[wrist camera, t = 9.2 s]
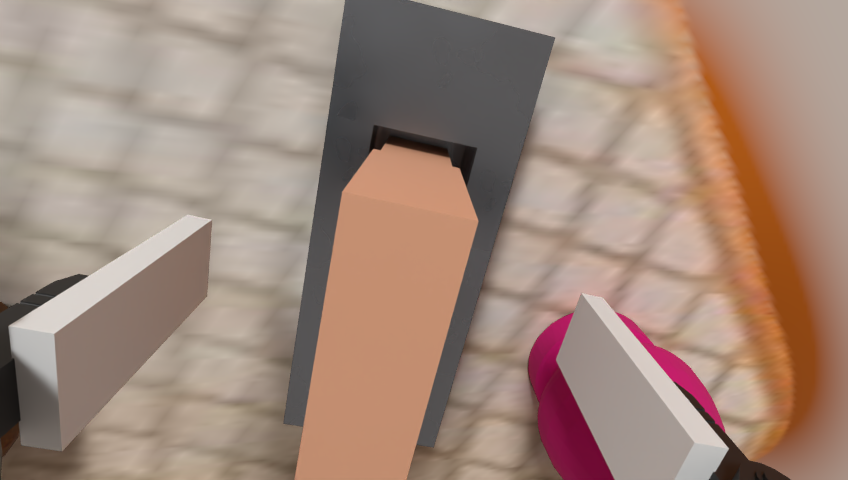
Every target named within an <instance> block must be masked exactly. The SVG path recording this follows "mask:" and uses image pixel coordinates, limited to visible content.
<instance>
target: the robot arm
mask: <svg viewBox="0 0 848 480" xmlns="http://www.w3.org/2000/svg"><path fill="white" fill-rule="evenodd" d="M211 228H212V220H211V219H206V218H201V217H196V216H191V215H186V216H184V217H183V218H181V219H180V220H178V221H176V222H175V223H173V224H172V225H170V226H168V227H167V228H165V229H164V230H162V231H160V232H159V233H157V234H155V235H154V236H152V237H151V238H149V239H147V240H146V241H144V242H143V243H141V244H139V245H138V246H136V247H135V248H133V249H131V250H130V251H128V252H127V253H125V254H123V255H122V256H120V257H119V258H117V259H115V260H114V261H112V262H110V263H109V264H107V265H106V266H104V267H102V268H101V269H99V270H98V271H96V272H94V273H93V274H91V275H90V276H87V275H81V274H77V275H74V276H71V277H68V278H64V279H61V280H58V281H54V282H53V283H51V284H49V285H48V286H46V287H44V288H42V289H41V290H39V291H37V292H36V294H35V295H34V294H32V295H30V296H28V297H27V298H25V299H23V300H22V301H21V302H20V304H19V303H16V304H15V305H13V306H11V307H9V308H8V309H6V310H4V311H3V312H1V313H0V480H1V467H2V446H1V437H2V436H4V435H5V434H6V433H7V432H8V431H9V430H10V429H11V428H13V427H14V426H15V425H16V424H17V423H18V422H19V430H20V439H21V445H22V446H28V447H35V448H42V449H49V450H56V451H63V450H64V449H65V448H66V447H67V446H68V445H69V443H70V442H71V441H72V440H73V439H74V438H75V437H76V436H77V435H78V434H79V433H80V432H81V431H82V430H83V428H84V427H85V426H86V425H87V424H88V423H89V422H90V421H91V420H92V419H93V418H94V417H95V416H96V415H97V413H98V412H99V411H100V410H101V409H102V408H103V407H104V406H105V405H106V404H107V403H108V402H109V401H110V400H111V398H112V397H113V396H114V395H115V394H116V393H117V392H118V391H119V390H120V389H121V388H122V387H123V386H124V385H125V383H126V382H127V381H128V380H129V379H130V378H131V377H132V376H133V375H134V374H135V373H136V372H137V371H138V369H139V368H140V367H141V366H142V365H143V364H144V363H145V362H146V361H147V360H148V359H149V358H150V357H151V356H152V354H153V353H154V352H155V351H156V350H157V349H158V348H159V347H160V346H161V345H162V344H163V343H164V342H165V341H166V339H167V338H168V337H169V336H170V335H171V334H172V333H173V332H174V331H175V330H176V329H177V328H178V327H179V326H180V324H181V323H182V322H183V321H184V320H185V319H186V318H187V317H188V316H189V315H190V314H191V313H192V312H193V311H194V309H195V308H196V307H197V306H198V305H199V304H200V303H201V302H202V301H203V300H204V299H205V298H206V297H207V289H208V274H209V259H210V243H211ZM556 361H557V363H558V365H559V367H560V369H561V371H562V374H563V376H564V378H565V380H566V382H567V384H568V386H569V388H570V390H571V392H572V394H573V396H574V398H575V400H576V402H577V404H578V406H579V408H580V410H581V412H582V414H583V416H584V418H585V420H586V422H587V424H588V426H589V428H590V430H591V432H592V435H593V437H594V439H595V441H596V443H597V445H598V447H599V449H600V451H601V453H602V455H603V457H604V459H605V461H606V463H607V465H608V467H609V469H610V471H611V473H612V475H613V477H614V479H615V480H790V479H789V478H788V477H786V476H785V475H783V474H781V473H780V472H778V471H776V470H775V469H773V468H771V467H768V466H766V465H764V464H761V463H757V462H753V461H749V460H748V459H747V458H746V456H745V455H744V454H743V453H742V452H741V451H740V449H739V448H738V447H737V446H736V445H735V444H734V442H733V441H732V440H731V439H730V438H729V437H728V436H727V434H726V433H725V432H724V431H723V430H722V429H721V427H720V426H719V425H718V424H715V420H714V419H713V418H712V417H711V416H710V415H709V414H708V412H705V409H704V408H703V407H702V405H701V404H700V403H699V402H698V401H697V400H696V398H695V397H694V396H693V395H692V394H690V393H689V392H688V391H687V390H685V389H684V388H683V387H681V386H680V385H679V384H678V383H676V382H673V381H672V380H671V379H670V378H669V376H668V375H667V374H666V373H665V372H664V370H663V369H662V368H661V367H660V366H659V364H658V363H657V362H656V361H655V360H654V358H653V357H652V356H651V355H650V354H649V353H648V351H647V350H646V349H645V348H644V347H643V345H642V344H641V343H640V342H639V341H638V339H637V338H636V337H635V336H634V335H633V333H632V332H631V331H630V330H629V329H628V327H627V326H626V325H625V324H624V323H623V321H622V320H621V319H620V318H619V317H618V315H617V314H616V313H615V312H614V311H613V309H612V308H611V307H610V306H609V305H608V304H607V302H606V301H605V300H604V299H603V298H602V297H598V296H593V295H588V294H583V293H581V295H580V298H579V301H578V303H577V306H576V308H575V311H574V314H573V316H572V319H571V321H570V324H569V327H568V329H567V332H566V335H565V337H564V340H563V342H562V345H561V348H560V350H559V353H558V355H557V358H556Z"/></svg>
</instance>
